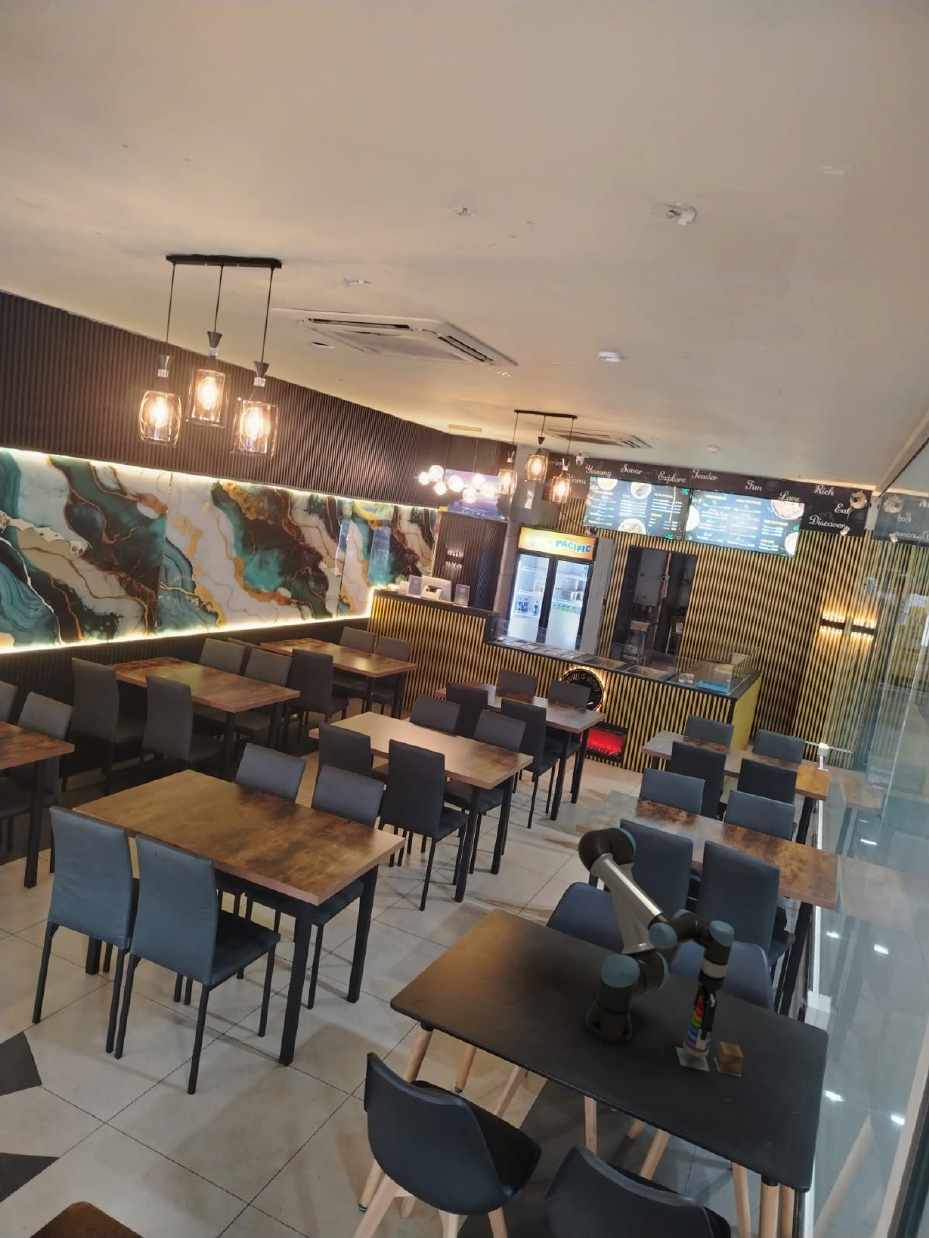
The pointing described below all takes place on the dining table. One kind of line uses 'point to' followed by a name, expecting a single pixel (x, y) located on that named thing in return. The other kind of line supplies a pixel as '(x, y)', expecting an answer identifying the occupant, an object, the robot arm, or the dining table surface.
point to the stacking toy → (696, 1034)
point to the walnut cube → (729, 1058)
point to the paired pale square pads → (695, 1061)
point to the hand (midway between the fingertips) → (697, 1039)
